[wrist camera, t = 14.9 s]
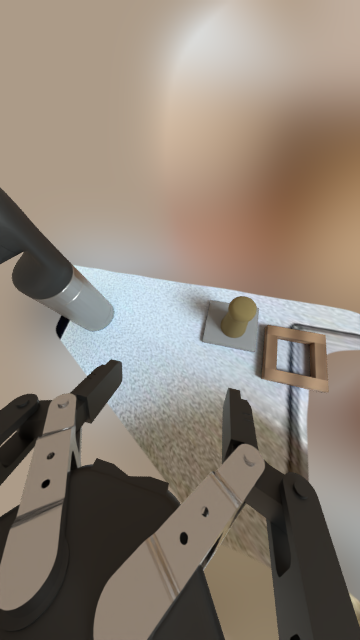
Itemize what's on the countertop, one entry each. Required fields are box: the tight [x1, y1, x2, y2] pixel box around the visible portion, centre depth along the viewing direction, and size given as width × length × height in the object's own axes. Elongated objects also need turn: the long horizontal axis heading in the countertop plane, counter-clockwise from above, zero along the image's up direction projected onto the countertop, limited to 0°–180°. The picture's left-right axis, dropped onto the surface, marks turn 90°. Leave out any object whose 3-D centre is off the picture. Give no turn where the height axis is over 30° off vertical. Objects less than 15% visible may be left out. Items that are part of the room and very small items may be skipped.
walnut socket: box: [261, 325, 329, 392], centre depth 39 cm, size 12×12×2 cm
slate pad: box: [203, 300, 259, 352], centre depth 44 cm, size 12×11×1 cm
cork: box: [221, 296, 257, 338], centre depth 38 cm, size 6×6×11 cm
